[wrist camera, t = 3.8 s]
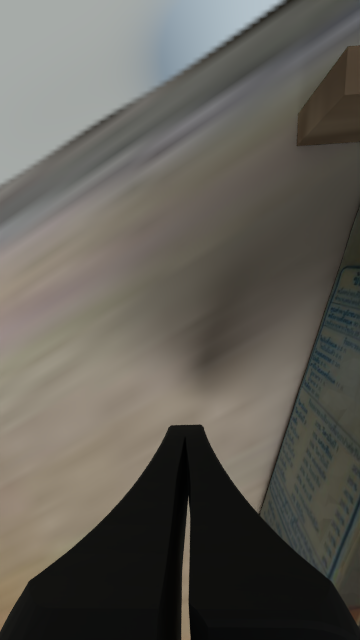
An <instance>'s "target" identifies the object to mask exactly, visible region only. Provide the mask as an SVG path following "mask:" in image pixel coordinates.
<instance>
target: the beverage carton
mask: <svg viewBox="0 0 360 640" xmlns="http://www.w3.org/2000/svg"><path fill="white" fill-rule="evenodd" d="M260 516H261V517H262V518H263V519H264V521H265V522H266V523H267V524H268V525H269V526H270V527H271V528H272V529H273V530H274V531H275V532H276V533H277V534H278V535H279V536H280V537H281V538H282V539H283V540H284V541H285V542H286V543H287V544H288V545H289V546H290V547H291V548H293V549H294V550H295V551H296V552H297V553H298V554H299V555H300V556H301V557H303V558H304V559H305V560H306V561H307V562H309V563H310V564H311V565H312V566H313V567H315V568H316V569H317V570H318V571H319V572H321V573H322V574H323V575H324V576H326V577H327V578H328V579H329V580H330V581H331V582H332V583H333V584H334V586H335V588H336V589H337V591H338V593H339V594H340V596H341V597H342V599H343V601H344V602H345V604H346V606H347V608H348V609H349V611H350V613H351V615H352V616H353V618H354V620H355V622H356V624H357V625H358V627H359V629H360V207H359V210H358V213H357V216H356V219H355V222H354V224H353V227H352V230H351V233H350V237H349V240H348V244H347V247H346V250H345V253H344V256H343V259H342V262H341V266H340V269H339V272H338V275H337V278H336V281H335V284H334V287H333V289H332V292H331V295H330V298H329V301H328V304H327V307H326V310H325V313H324V316H323V319H322V323H321V326H320V329H319V332H318V336H317V339H316V342H315V344H314V348H313V351H312V354H311V357H310V360H309V363H308V367H307V370H306V373H305V376H304V379H303V381H302V384H301V387H300V390H299V393H298V396H297V400H296V403H295V406H294V409H293V412H292V415H291V419H290V422H289V425H288V428H287V431H286V434H285V437H284V440H283V443H282V447H281V450H280V453H279V456H278V459H277V462H276V466H275V469H274V472H273V475H272V478H271V481H270V485H269V488H268V491H267V494H266V498H265V501H264V504H263V507H262V509H261V513H260Z"/></svg>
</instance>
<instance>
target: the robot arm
mask: <svg viewBox="0 0 360 640" xmlns="http://www.w3.org/2000/svg"><path fill="white" fill-rule="evenodd" d="M188 496H189V507H190V569H189V618H190V634H191V640H360V629H359V627H358V625H357V624H356V622H355V620H354V618H353V616H352V615H351V613H350V611H349V609H348V608H347V606H346V604H345V602H344V601H343V599H342V597H341V596H340V594H339V593H338V591H337V589H336V588H335V586H334V584H333V583H332V582H331V581H330V580H329V579H328V578H327V577H326V576H324V575H323V574H322V573H321V572H319V571H318V570H317V569H316V568H315V567H313V566H312V565H311V564H310V563H309V562H307V561H306V560H305V559H304V558H303V557H301V556H300V555H299V554H298V553H297V552H296V551H295V550H294V549H293V548H291V547H290V546H289V545H288V544H287V543H286V542H285V541H284V540H283V539H282V538H281V537H280V536H279V535H278V534H277V533H276V532H275V531H274V530H273V529H272V528H271V527H270V526H269V525H268V524H267V523H266V522H265V521H264V519H263V518H262V517H261V516H260V515H259V514H258V513H257V512H256V511H255V510H254V509H253V507H252V506H251V505H250V504H249V503H248V501H247V500H246V499H245V498H244V496H243V495H242V494H241V493H240V491H239V490H238V489H237V487H236V486H235V485H234V483H233V482H232V480H231V479H230V478H229V476H228V474H227V473H226V471H225V470H224V468H223V467H222V465H221V464H220V462H219V460H218V458H217V457H216V455H215V453H214V451H213V449H212V447H211V445H210V443H209V441H208V439H207V437H206V434H205V431H204V427H203V426H202V425H171V426H170V427H169V428H168V431H167V433H166V435H165V437H164V439H163V441H162V443H161V445H160V447H159V448H158V450H157V452H156V453H155V455H154V457H153V458H152V460H151V461H150V463H149V465H148V466H147V467H146V469H145V470H144V472H143V473H142V475H141V476H140V477H139V479H138V480H137V481H136V483H135V484H134V485H133V487H132V488H131V489H130V490H129V492H128V493H127V494H126V495H125V496H124V498H123V499H122V500H121V501H120V502H119V503H118V504H117V505H116V506H115V508H114V509H113V510H112V511H111V512H110V513H109V514H108V515H107V516H106V517H105V518H104V519H103V520H102V521H101V522H100V523H99V524H98V525H97V526H96V527H95V528H94V529H93V530H92V531H91V532H89V533H88V534H87V535H86V536H85V537H84V538H83V539H82V540H81V541H80V542H78V543H77V544H76V545H75V546H74V547H73V548H72V549H70V550H69V551H68V552H67V553H66V554H64V555H63V556H62V557H60V558H59V559H58V560H56V561H55V562H54V563H53V564H51V565H50V566H49V567H47V568H46V569H45V570H43V571H42V572H41V573H40V574H38V575H37V576H36V577H34V578H33V579H31V580H30V581H29V582H28V584H27V586H26V587H25V589H24V591H23V593H22V594H21V596H20V597H19V599H18V600H17V602H16V604H15V605H14V607H13V609H12V611H11V612H10V614H9V616H8V618H7V620H6V621H5V623H4V625H3V627H2V629H1V631H0V640H181V605H182V565H183V551H184V540H185V528H186V517H187V505H188Z"/></svg>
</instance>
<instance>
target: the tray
mask: <svg viewBox="0 0 360 640" xmlns="http://www.w3.org/2000/svg"><path fill="white" fill-rule="evenodd" d="M348 142H360V46H348V47H347V49H346V50H345V51H344V53H343V54H342V55H341V57H340V58H339V59H338V61H337V62H336V63H335V65H334V66H333V68H332V69H331V70H330V72H329V73H328V74H327V76H326V77H325V78H324V80H323V81H322V82H321V84H320V85H319V86H318V88H317V89H316V91H315V92H314V93H313V95H312V96H311V97H310V99H309V100H308V101H307V103H306V104H305V105H304V107H303V108H302V110H301V111H300V112H299V114H298V134H297V146H304V145H319V144H333V143H348Z"/></svg>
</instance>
